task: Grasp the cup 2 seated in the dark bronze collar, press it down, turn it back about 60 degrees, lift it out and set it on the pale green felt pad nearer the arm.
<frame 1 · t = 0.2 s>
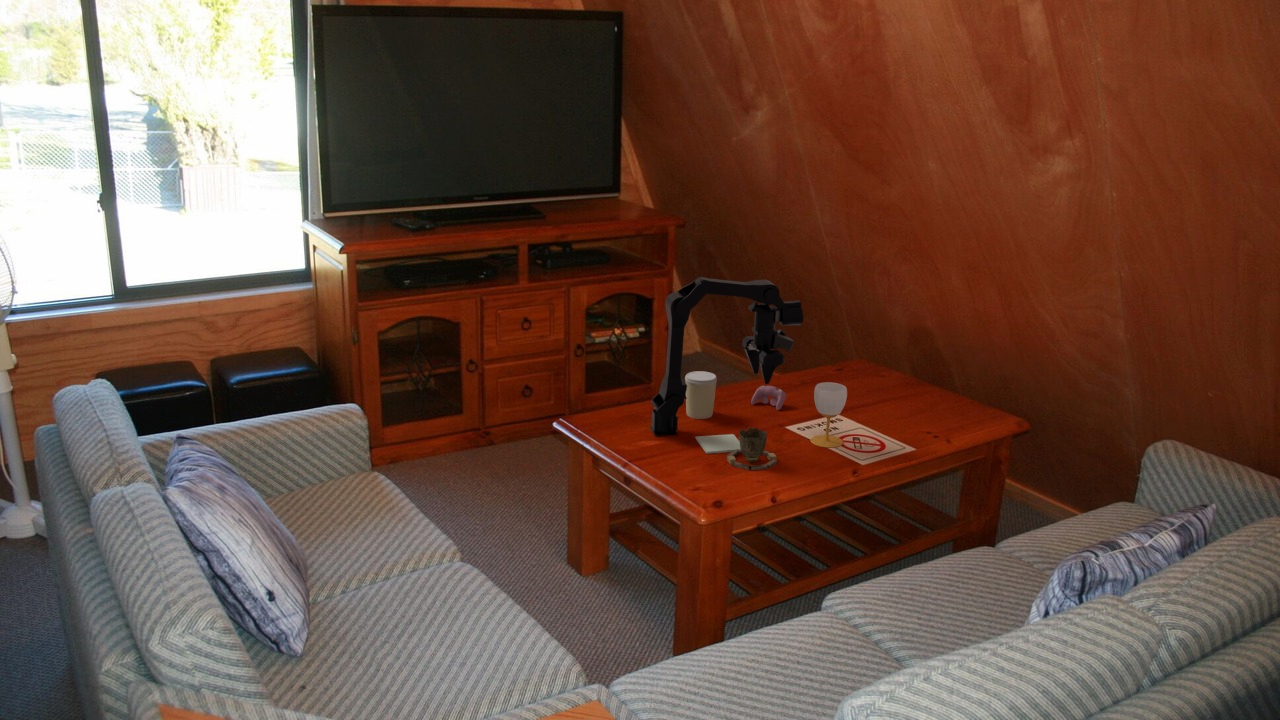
hand: (761, 378, 296), 15 cm above the table, tool pointing down, fingers open, 9 cm apart
cup 2: (751, 461, 277), on the table
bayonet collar: (751, 460, 277), on the table
felt pad: (720, 444, 287), on the table
cup: (826, 442, 291), on the table
video game controller: (768, 406, 318), on the table
coffee cup: (699, 414, 309), on the table
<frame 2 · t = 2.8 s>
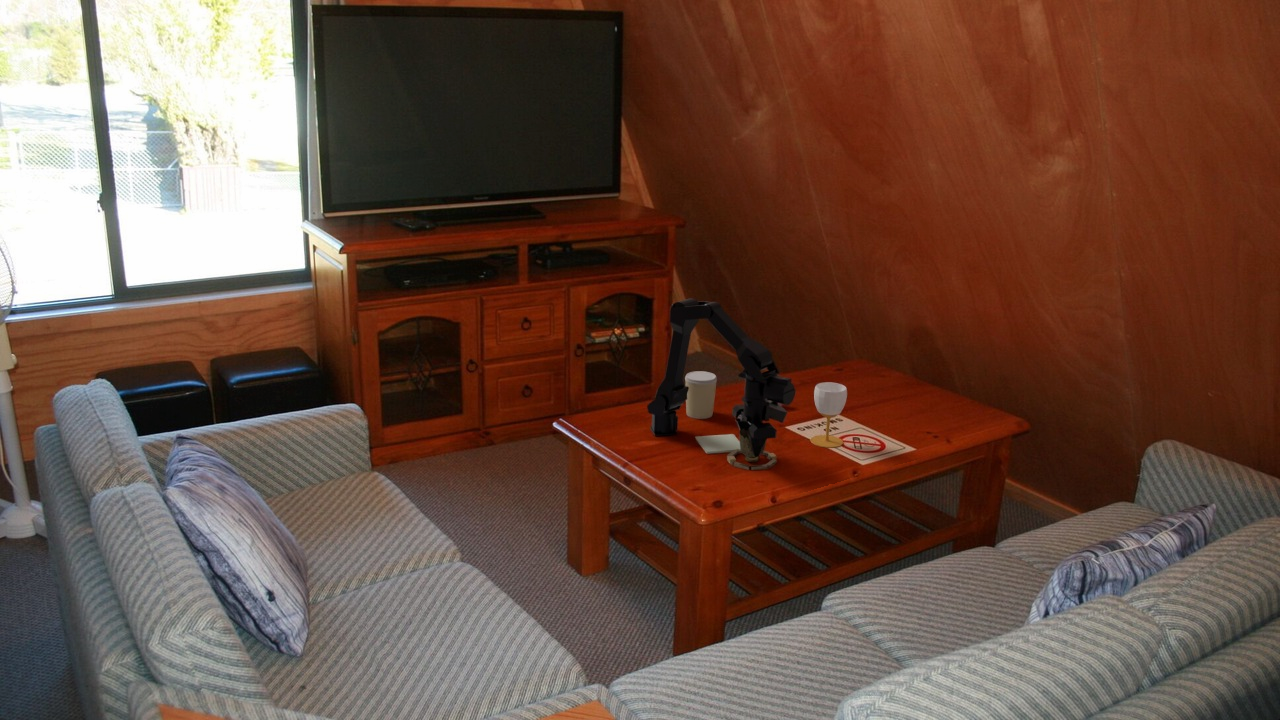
hand: (752, 451, 276), 3 cm above the table, tool pointing down, fingers closed on cup 2, 7 cm apart
cup 2: (751, 461, 277), on the table, touching gripper
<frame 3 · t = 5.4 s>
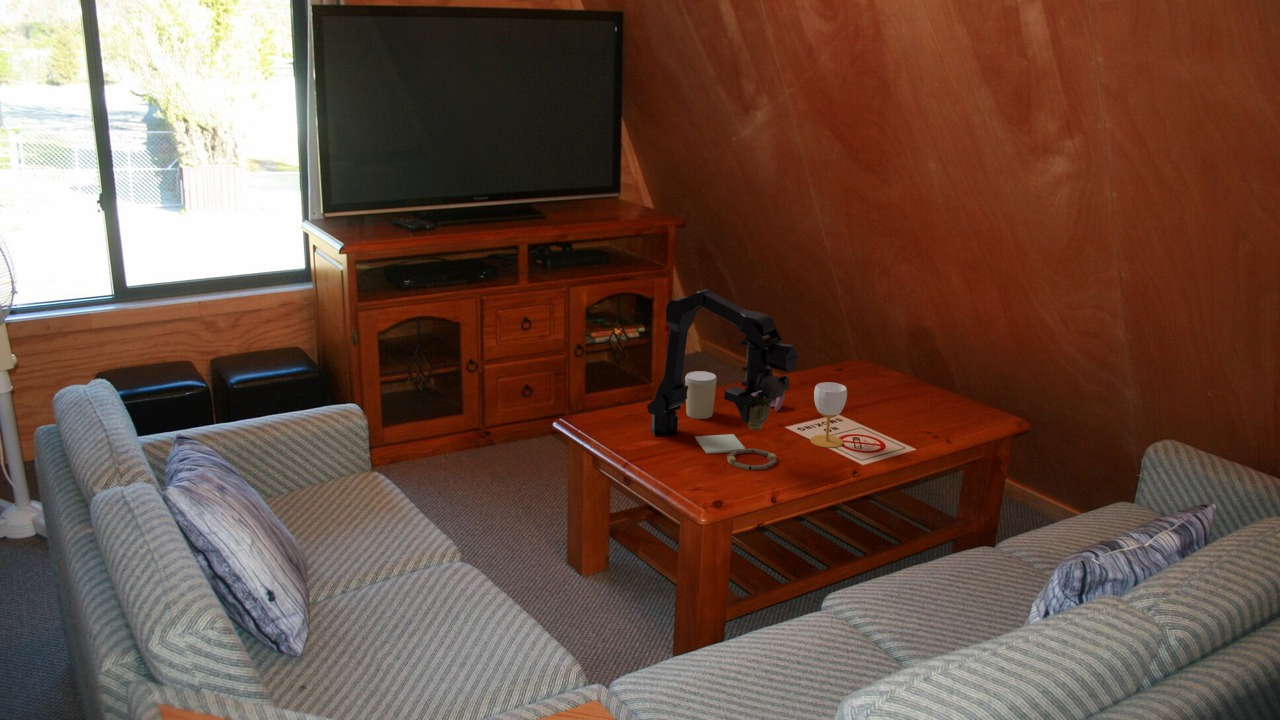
hand: (754, 420, 273), 11 cm above the table, tool pointing down, fingers closed on cup 2, 6 cm apart
cup 2: (754, 429, 274), point 9 cm above the table, touching gripper
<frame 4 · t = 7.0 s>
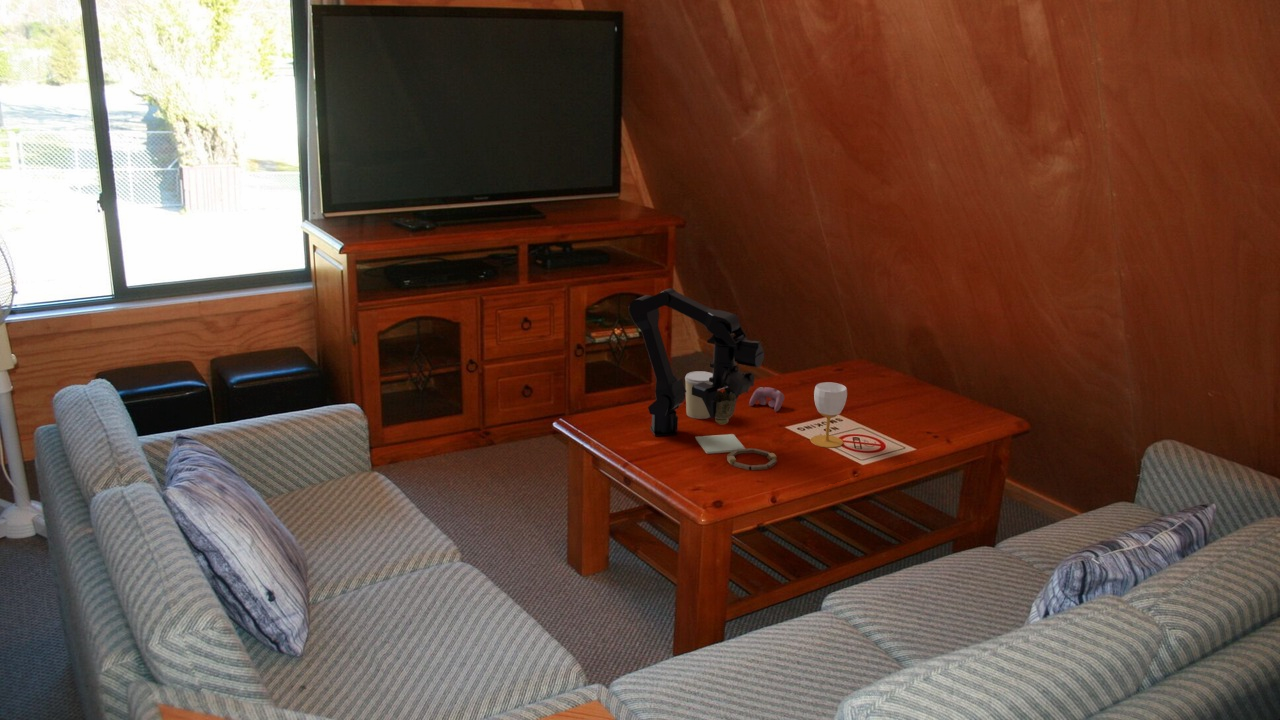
hand: (721, 415, 284), 9 cm above the table, tool pointing down, fingers closed on cup 2, 6 cm apart
cup 2: (721, 423, 285), point 6 cm above the table, touching gripper
when the fingers open (4 cm above the table, at t = 8.2 s): cup 2 drops 2 cm, resting on felt pad.
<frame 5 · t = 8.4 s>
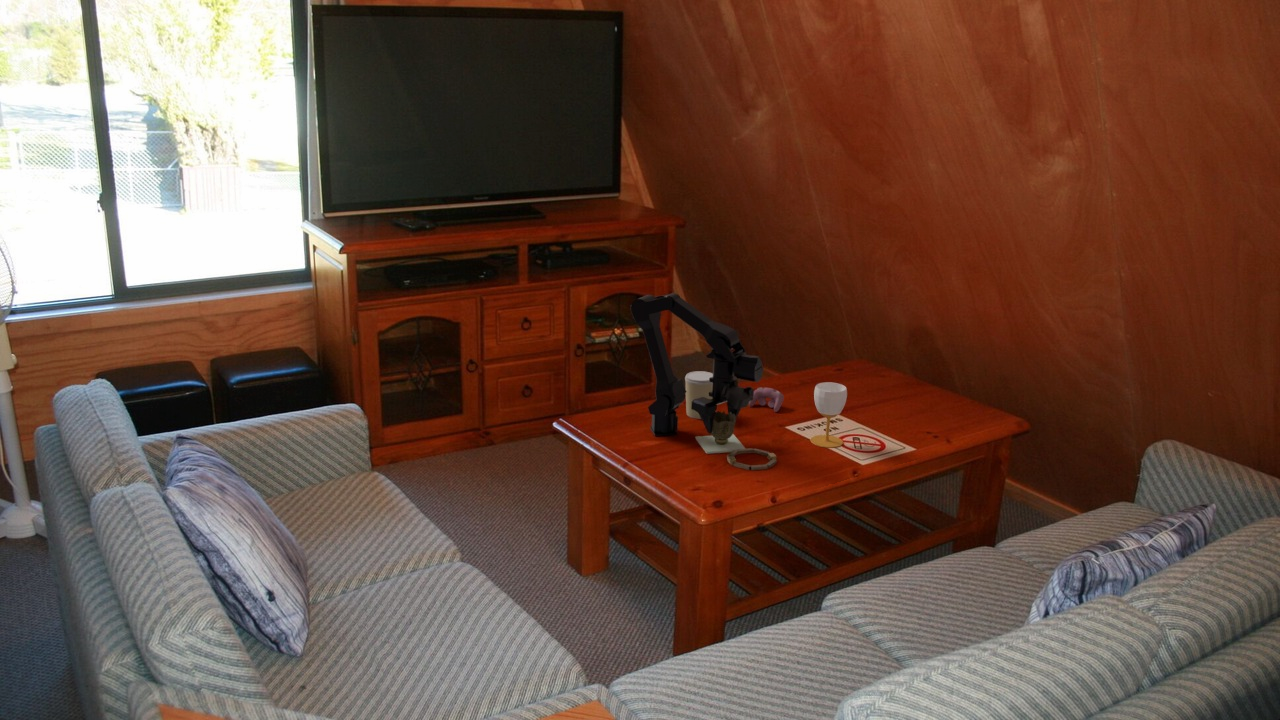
hand: (720, 429, 285), 4 cm above the table, tool pointing down, fingers open, 9 cm apart
cup 2: (721, 443, 286), resting on felt pad
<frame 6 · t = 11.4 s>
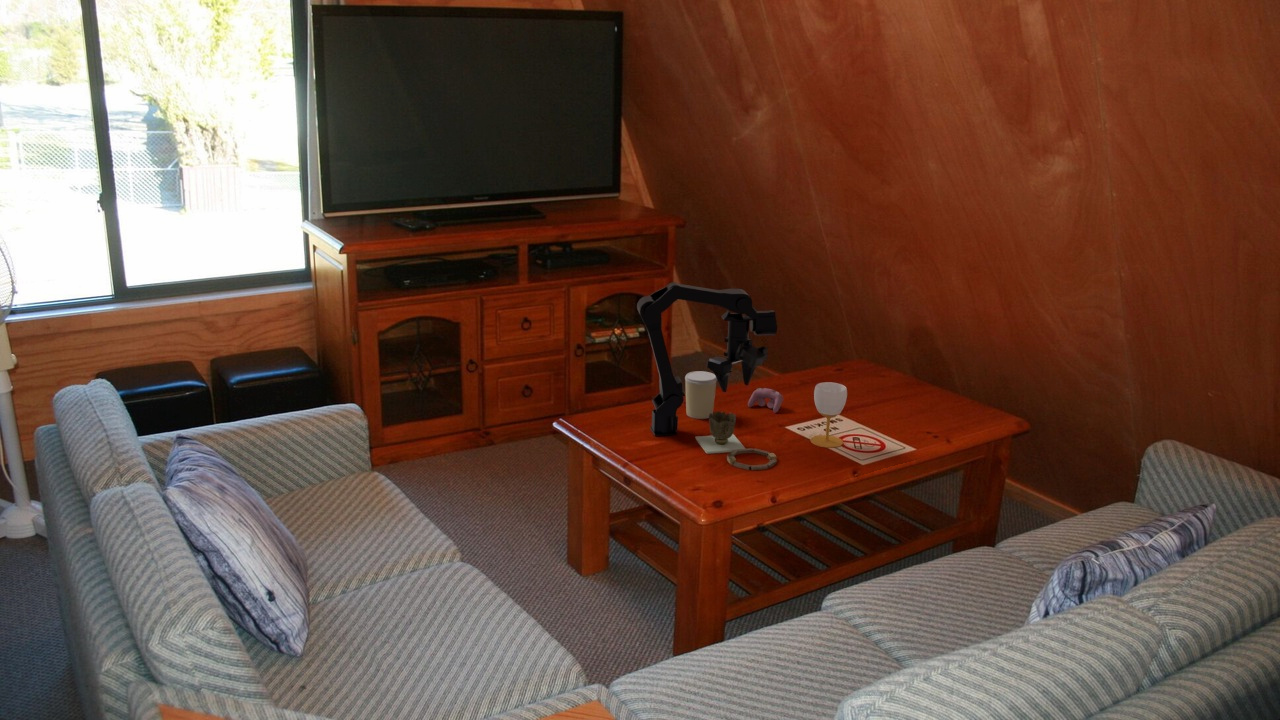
hand: (735, 388, 294), 12 cm above the table, tool pointing down, fingers open, 9 cm apart
at the end: cup 2 inside the target area on the felt pad (0.3 cm from its centre), point 0.4 cm above the felt pad's base; the gripper is holding nothing; cup 2 moved 12.8 cm from its start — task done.
